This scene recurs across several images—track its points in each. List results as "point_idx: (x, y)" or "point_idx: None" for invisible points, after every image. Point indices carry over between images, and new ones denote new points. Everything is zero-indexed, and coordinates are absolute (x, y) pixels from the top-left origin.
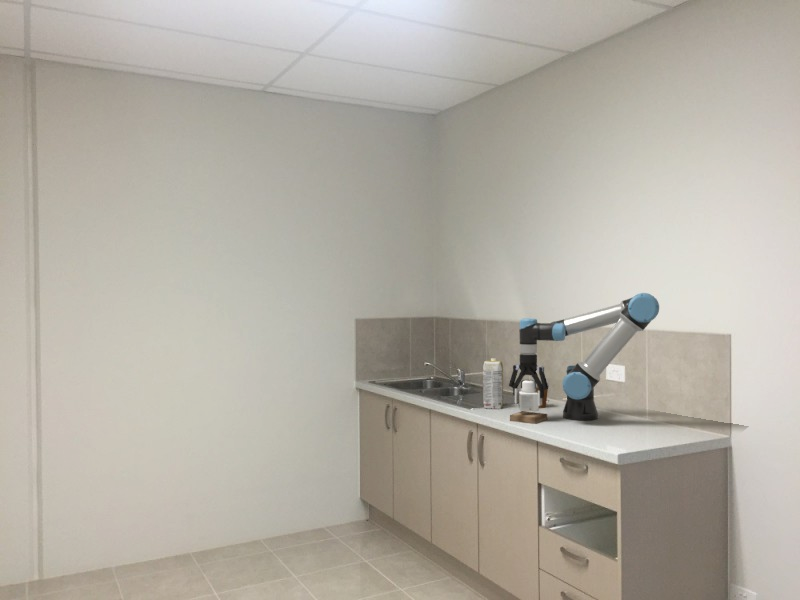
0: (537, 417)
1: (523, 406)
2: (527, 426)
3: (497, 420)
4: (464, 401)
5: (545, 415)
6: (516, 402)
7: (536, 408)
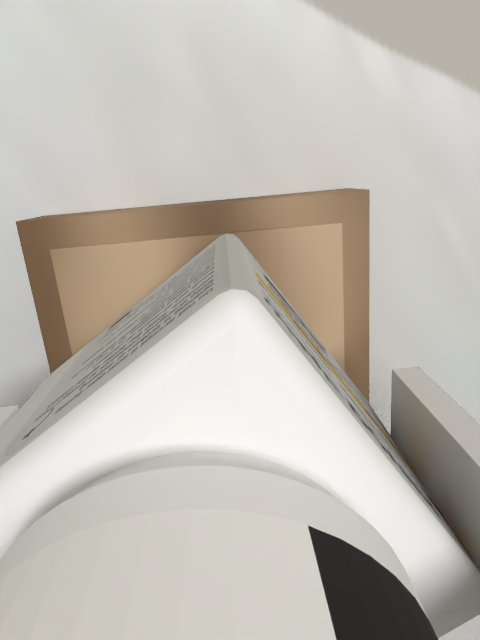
0: (32, 286)
1: (193, 265)
2: (5, 9)
3: (475, 119)
4: None
5: None
6: (399, 383)
7: (50, 376)
